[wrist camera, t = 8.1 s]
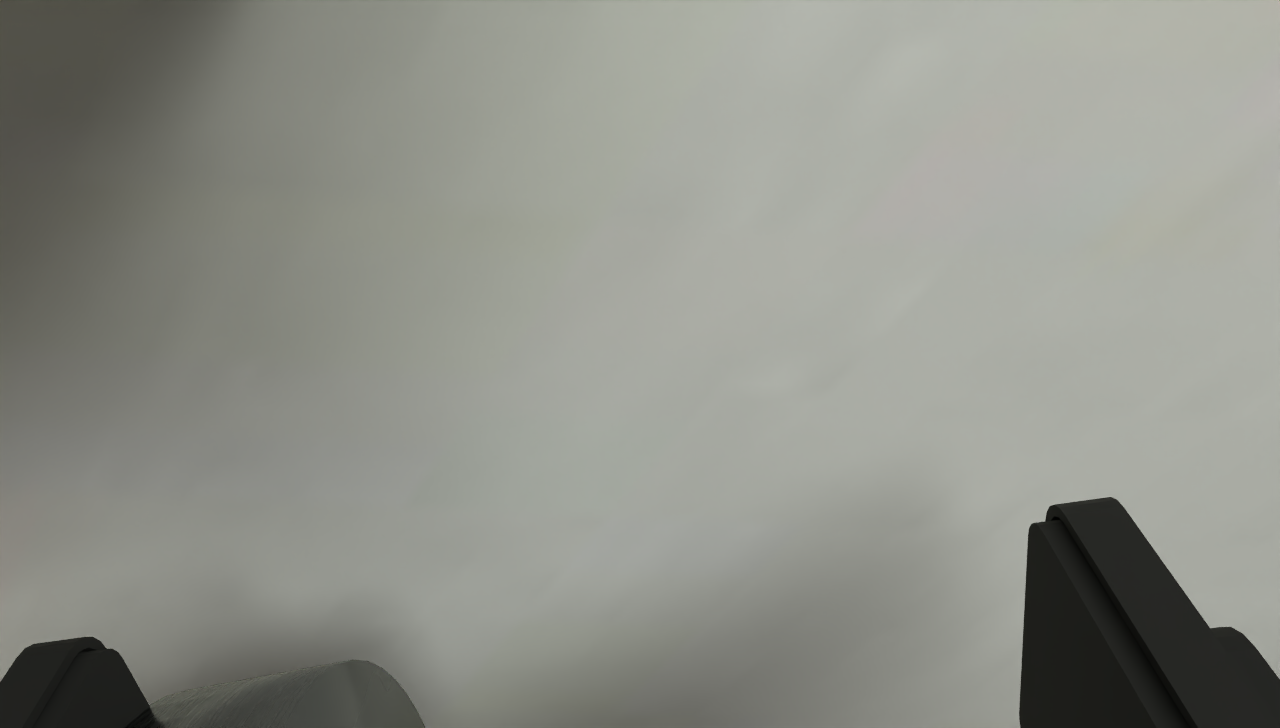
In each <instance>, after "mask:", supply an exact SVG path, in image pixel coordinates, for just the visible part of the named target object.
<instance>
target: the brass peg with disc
mask: <svg viewBox="0 0 1280 728" xmlns="http://www.w3.org/2000/svg"><path fill="white" fill-rule="evenodd" d="M149 706H150V707H149V708H148V709H147V710H146V711H144V712H143V713H142V714H141V715H139V716H138V717H137V718H136V719H134V720H133V721H132V722H131V723H129V724H128V725H127V726H126V727H124V728H425V726H424V724H423V722H422V720H421V717H420V715H419V713H418V712H417V710H416V708H415V707H414V705H413V703H412V702H411V700H410V698H409V697H408V695H407V694H406V692H405V691H404V690H403V689H402V687H401V686H400V685H399V684H398V682H397V681H396V680H395V679H394V678H393V677H392V676H391V675H390V674H388V673H387V672H386V671H385V670H384V669H383V668H381V667H379V666H377V665H375V664H373V663H371V662H369V661H361V660H349V661H343V662H338V663H332V664H327V665H322V666H316V667H311V668H305V669H300V670H294V671H289V672H283V673H278V674H273V675H267V676H262V677H256V678H251V679H245V680H240V681H234V682H229V683H224V684H218V685H213V686H207V687H202V688H196V689H191V690H187V691H183V692H179V693H176V694H172V695H168V696H166V697H164V698H162V699H160V700H158V701H157V702H155V703H153V704H151V705H149Z"/></svg>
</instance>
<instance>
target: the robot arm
mask: <svg viewBox="0 0 1280 728" xmlns="http://www.w3.org/2000/svg"><path fill="white" fill-rule="evenodd" d="M149 707H150V706H149V704H148V703H147V701H146V699H145V697H144V695H143V694H142V692H141V690H140V688H139V687H138V685H137V683H136V681H135V679H134V678H133V676H132V674H131V672H130V671H129V669H128V667H127V665H126V663H125V662H124V660H123V658H122V657H121V655H120V654H119V653H118V652H117V651H115V650H113V649H106V648H105V646H104V645H103V644H102V643H101V641H99V640H97V639H96V638H94V637H82V638H74V639H67V640H60V641H53V642H45V643H38V644H33V645H31V646H29V647H27V648H25V649H24V650H23V651H22V652H21V653H20V655H19V656H18V657H17V658H16V660H15V661H14V663H13V664H12V666H11V667H10V669H9V670H8V672H7V673H6V675H5V676H4V678H3V679H2V681H1V682H0V728H124V727H126V726H127V725H128V724H129V723H131V722H132V721H133V720H134V719H136V718H137V717H138V716H139V715H141V714H142V713H143V712H144V711H146V710H147V709H148V708H149ZM1019 716H1020V726H1021V728H1280V679H1279V678H1278V677H1277V675H1276V674H1275V673H1274V671H1273V670H1272V669H1271V667H1270V666H1269V665H1268V663H1267V662H1266V661H1265V659H1264V658H1263V657H1262V655H1261V654H1260V653H1259V651H1258V650H1257V649H1256V647H1255V646H1254V645H1253V644H1252V643H1251V642H1250V641H1249V640H1248V639H1247V638H1246V637H1245V636H1244V635H1243V634H1242V633H1240V632H1239V631H1237V630H1235V629H1234V628H1232V627H1218V628H1209V626H1208V625H1207V623H1206V622H1205V621H1204V619H1203V618H1202V616H1201V615H1200V614H1199V612H1198V611H1197V609H1196V608H1195V607H1194V605H1193V604H1192V602H1191V601H1190V600H1189V598H1188V597H1187V595H1186V594H1185V593H1184V591H1183V590H1182V588H1181V587H1180V586H1179V584H1178V583H1177V581H1176V580H1175V579H1174V577H1173V576H1172V574H1171V573H1170V572H1169V570H1168V569H1167V567H1166V566H1165V565H1164V563H1163V562H1162V560H1161V559H1160V558H1159V556H1158V555H1157V553H1156V552H1155V551H1154V549H1153V548H1152V546H1151V545H1150V544H1149V542H1148V541H1147V539H1146V538H1145V537H1144V535H1143V534H1142V532H1141V531H1140V529H1139V528H1138V527H1137V525H1136V524H1135V522H1134V521H1133V520H1132V518H1131V517H1130V515H1129V514H1128V513H1127V511H1126V510H1125V508H1124V507H1123V506H1122V505H1121V504H1120V503H1119V502H1118V500H1116V499H1114V498H1112V497H1108V498H1100V499H1093V500H1086V501H1078V502H1071V503H1064V504H1056V505H1052V506H1050V507H1049V509H1048V511H1047V514H1046V521H1045V522H1039V523H1033V524H1031V526H1030V528H1029V534H1028V551H1027V571H1026V591H1025V611H1024V631H1023V651H1022V671H1021V691H1020V710H1019Z"/></svg>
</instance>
